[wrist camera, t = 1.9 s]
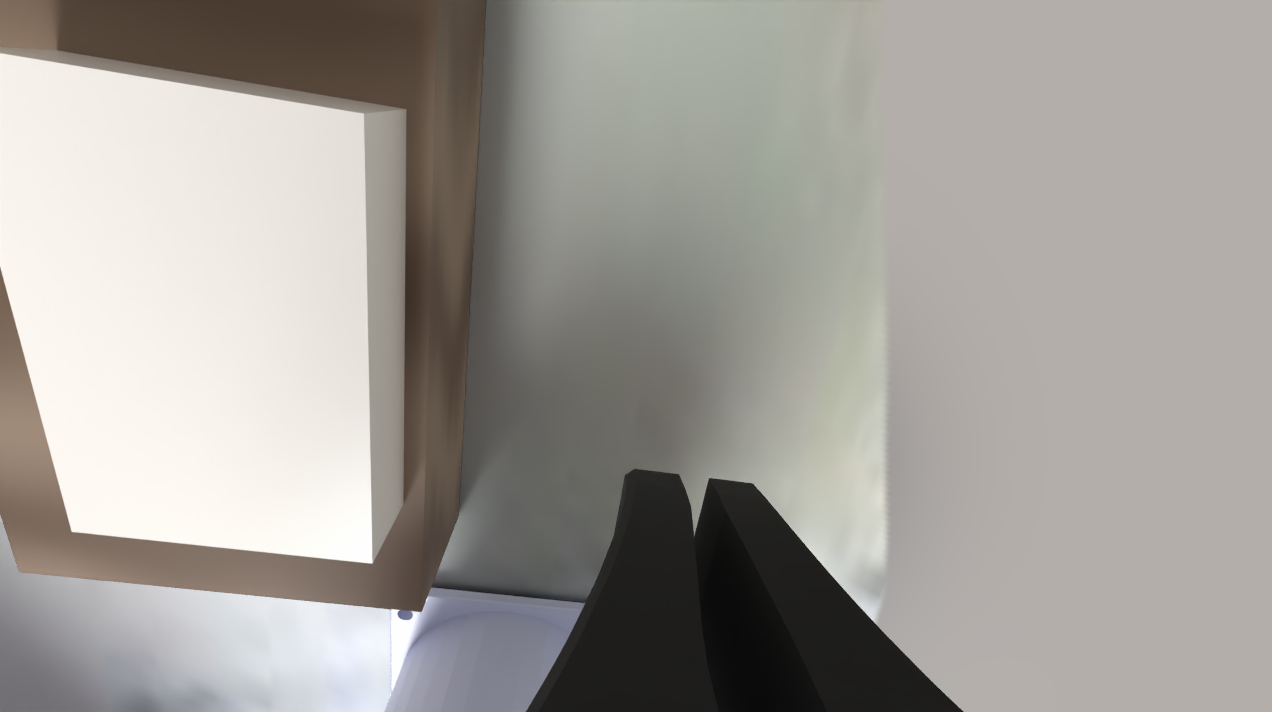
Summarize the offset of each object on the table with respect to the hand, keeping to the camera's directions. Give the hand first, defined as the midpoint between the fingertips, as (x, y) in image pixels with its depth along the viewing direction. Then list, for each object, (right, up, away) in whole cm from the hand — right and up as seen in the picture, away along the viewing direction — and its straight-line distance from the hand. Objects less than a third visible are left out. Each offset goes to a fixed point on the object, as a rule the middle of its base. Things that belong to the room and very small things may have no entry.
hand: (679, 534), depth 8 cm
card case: (-8, +3, +4) cm, 10 cm away
